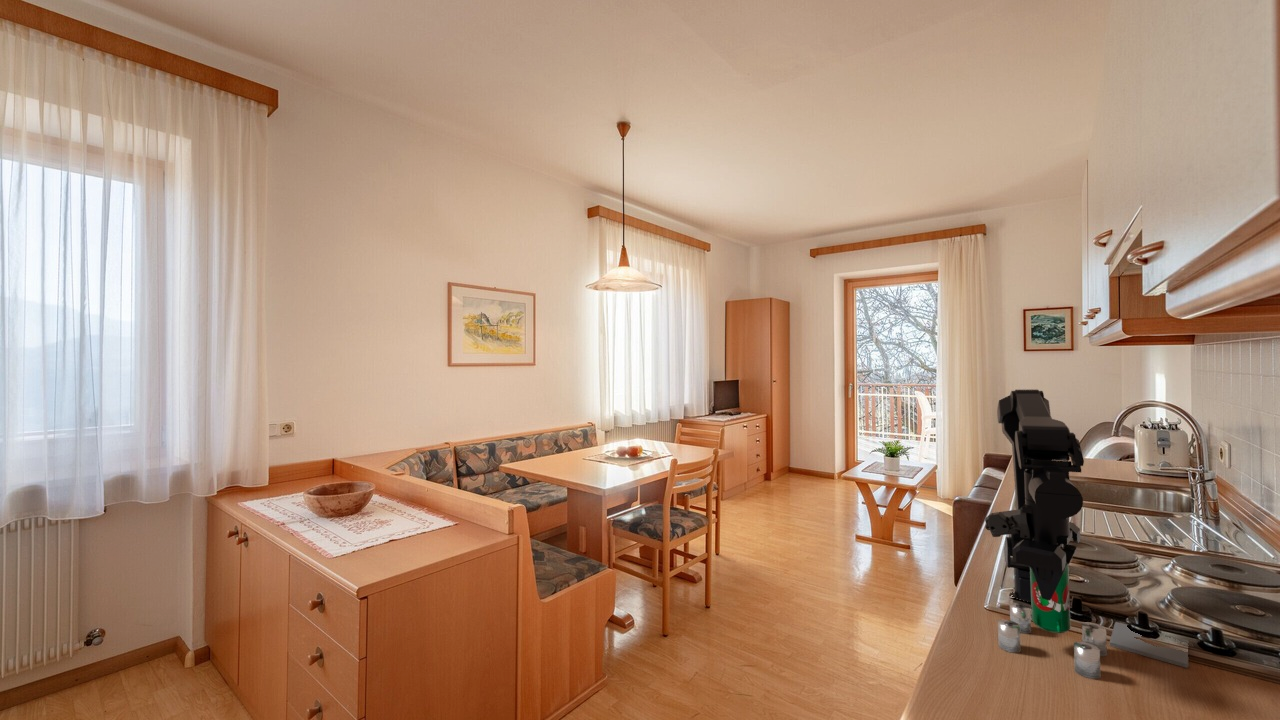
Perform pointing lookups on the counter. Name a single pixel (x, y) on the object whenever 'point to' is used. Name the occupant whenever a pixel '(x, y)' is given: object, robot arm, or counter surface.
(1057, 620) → the soda can
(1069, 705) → the counter surface
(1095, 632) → the spacer posts
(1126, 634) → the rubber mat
